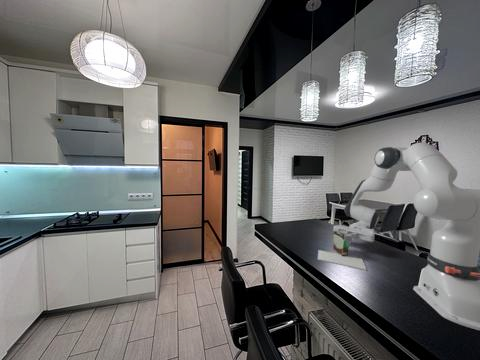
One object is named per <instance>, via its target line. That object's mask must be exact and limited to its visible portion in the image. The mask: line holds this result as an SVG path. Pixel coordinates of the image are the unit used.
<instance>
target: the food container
mask: <svg viewBox="0 0 480 360" xmlns="http://www.w3.org/2000/svg"><path fill="white" fill-rule="evenodd" d="M332 235H333V236H332V237H333V238H332V239H333V241H332V243H333V244H332V249H333V250H334V251H335V253H336V254H340V255H341V256H349V250H350V244H351V241H352V240H353V237H351V235H349V234H347V233H344V232H339V231H333V233H332Z"/></svg>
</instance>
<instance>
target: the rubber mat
mask: <svg viewBox="0 0 480 360" xmlns="http://www.w3.org/2000/svg"><path fill="white" fill-rule="evenodd" d="M317 252H318V253H317V260H318V261H320V262H326V263H329V264H330V263H331V264H335V265H338V266H339V265H340V266H344V267H349V268H353V269H358V270H362V271H367V267H366V265H365V263H364V261H363V258H361V257H355V256H350V255H347V256H341V255H340V254H339V253H337V252H330V251H325V250H320V249H318V250H317Z"/></svg>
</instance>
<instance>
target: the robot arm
mask: <svg viewBox="0 0 480 360" xmlns="http://www.w3.org/2000/svg"><path fill="white" fill-rule="evenodd" d="M398 172H411V173H412V174H413V176H414V177H415V178H416V180H417V182H418V183H419V187H420V190H419V191H417V193H416V194H415V195H414V197H413V206H414V209H415V210H416V212H417V213H418V214H420V215H421V216H424V217H428V218H431V219H435V220H445V221H447V222H446V223H445V224H444V225H443V226H442V227H441V228H439V229H437V230H435V231H434V232H433V233H432V234H431V244H430V251H429V253H428V254H427V255H428V256H427V261H426V262H427V265H426V266H425V267H423V268H422V269H421V272H420V276H419V280H418V285H414V286H413V288H412V290H413V291H415V293H416V294H417V295H418V296H420V297H421V298H422V299H423V300H424V301H425V302H426V303H427V304H428V305H429V306H430V307H432V308H433V309H434V310H435V311H436V313H438V314H439V315H440V316H441V317H443V318H444V319H446V320H448V321H450V322H453V323H455V324H458V325H460V326H463V327H466V328H468V329H469V328H470V329H472V330H473V329H474V330H476V331H480V266H479V265H478V263H479V255H480V189H473V188H460V187H458V186H456V185H455V184H454V182H455V181H456V179H457V177H458V174H459V173H458V170H457V168H455V167H454V165H453V164H452V163H451V162H450V161H449V160H448V159H447V158H446V157H445V155H444V154H443V153H441V151H440V150H438V149H437V148H436V147H434V146H433V145H431V144H430V143H427V142H417V143H413V144H411V145H410V146H408V147H392V146H391V147H390V146H389V147H388V146H387V147H382V148H380V149H378V151H376V153H375V155H374V165H373V167H372V169H371V172H370V174H369V176H368V178H367V179H363V180H361V181H360V182H359V184H358V185H357V187H356V188H355V191H354V192H353V193H352V196H351V197H350V199H349V201H348V202H347V204H346V205H345V206H344V209H343V211H344V213H345V216H346V217H350V218H352V219H354V220H357V221H356V222H353V223H351V224H350V225H349V226H347V225H344V224H342V225H341V224H337V225H334V226H333V230H332V231H333V232H334V231H339V232H344V233H347V234H349V235H351V238H352V239H355V240H362V241H365V242H370V243H374V242H375V235H376V233H375V232H376V231H375V228H376V227H377V225H378V223H379V221H380V215H379V212H378V211H377V210H375V209H373V208H370V207H367V206H365V205H363V204H360V203H359V201H360V199H362V198H361V197H362V196H363V194H364V193H369V192H370V193H371V192H373V193H378V192H384V191H388V190H389V189H391V187H392V185H394V182H395V179H396V177H397V174H398Z"/></svg>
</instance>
